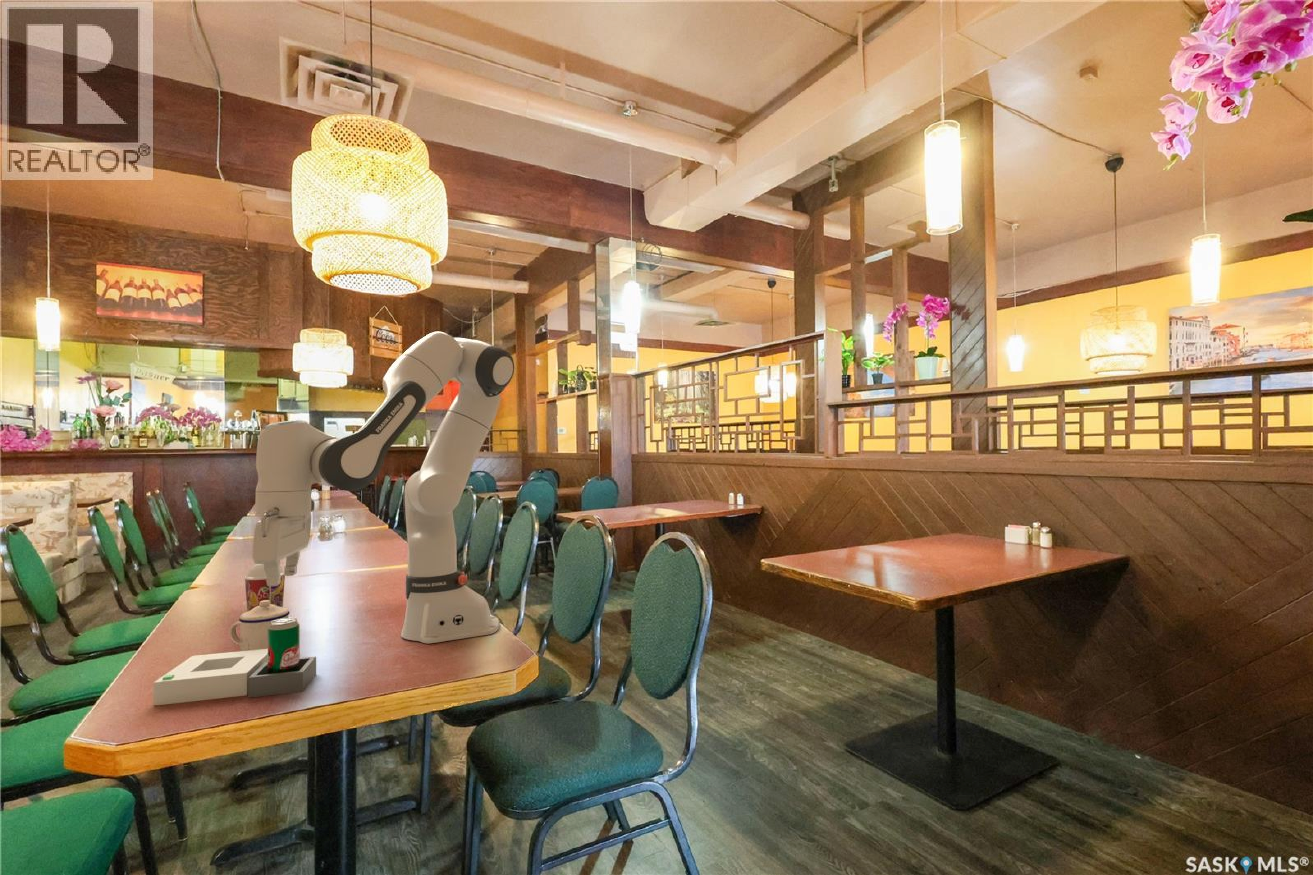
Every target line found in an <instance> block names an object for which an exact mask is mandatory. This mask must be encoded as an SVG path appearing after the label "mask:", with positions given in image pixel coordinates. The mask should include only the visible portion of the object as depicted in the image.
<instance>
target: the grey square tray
mask: <svg viewBox="0 0 1313 875" xmlns="http://www.w3.org/2000/svg"><path fill="white" fill-rule="evenodd" d="M316 676H317V656H315V655H314V656H308V657H300V671H294V672H285V673H275V674H268V661H266V662H265V663H264V664H263V665H262V666H261V667H259V668H258V669H257V670H256V671H255V672H254V673H253V674H252V675H251V676H250V677H249V678H248V684H249V694H248V699H249V698H257V697H265V696H275V695H285V694H290V693H291V694H292V693H300V692H301V693H302V692H304V691H305V689H306V688H307V687H308V686H309V684H310V683H311V681H312V680H313V679H314V678H315V677H316Z"/></svg>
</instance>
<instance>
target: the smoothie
mask: <svg viewBox="0 0 1313 875" xmlns="http://www.w3.org/2000/svg"><path fill="white" fill-rule="evenodd" d="M284 572H285V571H284V569H283V567H282V566H281V565H280V566H279V575H280V574H281V583H280V584H278V585H277V586H267V576H266V573H265V570H264V564H255V563H254V564H252V566H251V567H249V569H248V570H247V573H246V575H245V576H244V586H245V597H246V598H245V599H246V601H245V602H246V612H248V611H250V610H252V609H253V608H255V607H257V606H260V605H259V602H260V601H263V600H269V601H270V604H273V605H276V606H279V607H284V594H285V593H284V592H285V578H286V576H285V575H284Z"/></svg>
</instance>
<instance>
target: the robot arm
mask: <svg viewBox="0 0 1313 875" xmlns="http://www.w3.org/2000/svg"><path fill="white" fill-rule="evenodd" d="M514 373H515V363H514V359H513V356H512V354H511V353H510V352H509V351H508V350H506V349H505V348H503V347H501V346H499V345H493V344H491V343H488V342H486V341H482V340H479V339H470V338H463V337H459V336H456V335H450V334H448V333H446V332H443V331H434V332H430V333H429V334H426V336H424V337H422V338H421V339H419V340H418V341H416V342H415V343H414V344H412V345H411V346H410V347H409V348H408V349H407V350H405V352H404V353H402V354H401V355H400V356H399V357H398V358H397V359H396V360H394V362H393V363H392V365H391V366H390V367H389V368H388V370H387V372H386V373H385V374H384V376H383V377H382V388H383V392H384V394H385V399H384V401H383V402H382V403H381V405H380V406H379V407H378V408H377V410H376V411H375V412H374V413H372V415H371V416H370V417H369V418H368V419H367V420H366V421H365V423H364V424H363V425H362V426H361V427H360V428H359V429H358V430H357V431H355V432H354V433H351V434H349V435H347V436H345V437H341V438H340V437H339V438H338V437H337V436H334V435H331V434H329V433H326V432H324V431H321V430H319V429H318V428H316V427H314V426H312V425H311V424H310V423H309V422H308V421H306V420H302V419H296V420H295V419H294V420H287V421H286V420H284V421H278V422H277V421H276V422H272V423H269V424H267V425H265V426H263V428H262V429H261V430H260V431H259V435H258V439H257V446H256V459H255V460H256V461H255V469H256V472H257V475H258V477H257V478H258V481H257V484H256V487H255V503H254V504H255V509H254V510H255V511H254V512H255V517H257V518H261V519H259V520H258V521H257V522H256V523H255V526H254V531H253V541H252V542H253V543H252V560H253V563H254V564H264V570H265V573H266V576H267V586H277V585H278V584H280V583H281V574H280V575H279V566H281V561H282V560H284V559H285V566H284V569H283V571H284V575H285V577H291V576H295V575H297V573H298V564H299V560H300V557H301V556H300V553H301V550H305V549H306V548H307V547H308V545H309V542H310V538H311V530H312V529H311V528H312V527H311V526H312V513H313V512H314V511H315V508H316V507H315V506H316V505H315V504H316V503H315V500H313V498H312V485H313V484H319V485H322V486H325V487H330V488H331V487H332V488H336V489H338V490H342V491H345V492H346V491H348V492H354V491H360V490H362V489H364V488H367V487H368V486H370V485H371V484H373V482H374V481H375V480H376V478H377V477H378V476H379V474H380V472H381V470H382V466H383V463H384V460H385V458H386V455H387V454H388V451H389V450H390V449H391V447H392V446H393V444H394V443H395V442H396V441H397V440H398V438H399V437H400V436H401V435H402V434H403V433H404V431H405V430H406V429H407V428H408V426H409V425H410V424H411V423H412V421H413V420H414V419H415V418H416V417H417V416H418V414H419V413H420V412H421V411H422V410H423V409H424V408H425V407H426V406H427V405H428V404H429V403H431V402H432V401H433V399H435V397H436V396H438V394H440V393H441V391H442V390H443V389H444V388H445V387H446V385H447V384H448V383H449V382H450V381H453V382H456V383H459V389H458V393H457V395H456V396H455V398H454V399H453V401H452V403H451V405H450V406H449V408H448V409H447V411H446V414H445V416H444V417H443V419H442V421H441V423H440V424H439V427H438V429H437V431H436V432H435V434H434V436H433V438H432V440H431V443H430V446H429V449H428V451H427V453H426V456H425V458H424V460H423V462H422V464H421V467H420V470H417V471H416V472H414V473H413V474H412V475H411V476H410V477H409V478H408V479H407V481H406V483H405V485H404V509H405V510H404V512H405V527H406V538H407V539H406V540H407V574H406V575H405V579H404V580H405V582H404V583H405V585H404V586H405V588H404V590H405V591H404V592H405V593H404V594H405V598H406V606H405V616H404V621H403V625H402V630H401V632H400V637H401V638H402V639H404V640H409V641H413V642H414V641H415V642H421V643H423V644H427V645H428V644H434V643H441V642H447V641H454V640H461V639H467V638H475V637H481V636H488V635H492V634H494V633H496V632H497V631H499V629H500V627H501V626H500V619H499V618H498V617H497V616H495V615H491V610H490V606H489V602H488V601H487V600H486V598H485V597H484V596H482V595H481V594H479V593H477V592H476V591H474V590H473V589H471V588H470V587H469V586H467V585H466V583H467V581H468V576H467V575H466V573H465V572H464V571H461V570H458V566H457V564H458V563H457V561H458V560H457V559H458V558H457V557H458V555H457V553H458V552H457V547H458V546H457V535H456V528H455V522H454V514H453V513H454V512H453V511H454V510H455V509H456V508H457V506H458V505H459V504H460V500H461V498H462V495H463V493H464V490H465V487H466V485H467V483H468V479H469V477H470V475H471V471H472V469H473V465H474V463H475V461H476V458H477V456H478V454H479V452H480V451H481V449H482V446H483V444H484V442H485V440H486V438H487V437H488V434H489V433H490V431H491V428H492V426H493V425H494V424H493V423H494V421H495V419H496V416H497V413H498V410H499V407H500V404H501V400H502V392H503V391H504V390H505V389H506V388H507V387H508V385H509V383H510V382H511V380H512V379H513V377H514Z"/></svg>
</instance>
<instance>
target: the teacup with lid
mask: <svg viewBox="0 0 1313 875" xmlns="http://www.w3.org/2000/svg"><path fill="white" fill-rule="evenodd" d="M259 605H260V606H257V607H255V608H253V609H252V610H250V611H248V612H247V611H246V612H244V613H242V614H241V615H240V616H239V619H238V621H236V622H234V623H233V624H232V625H231V626H230V629H229V636H230V638H231V640H232V641H233V643H235V644H237V645H240V651H249V650H260V649H268V628H269V626H270V622H272V621H274V620H278V619H283V618H289V615H290V610H289V608H287V607H284V606H283V607H279V606H276V605H273V604H270V601H269V600H263V601H260V602H259ZM238 626H240V637H239V636H238V635H237V631H236V630H237V627H238Z"/></svg>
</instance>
